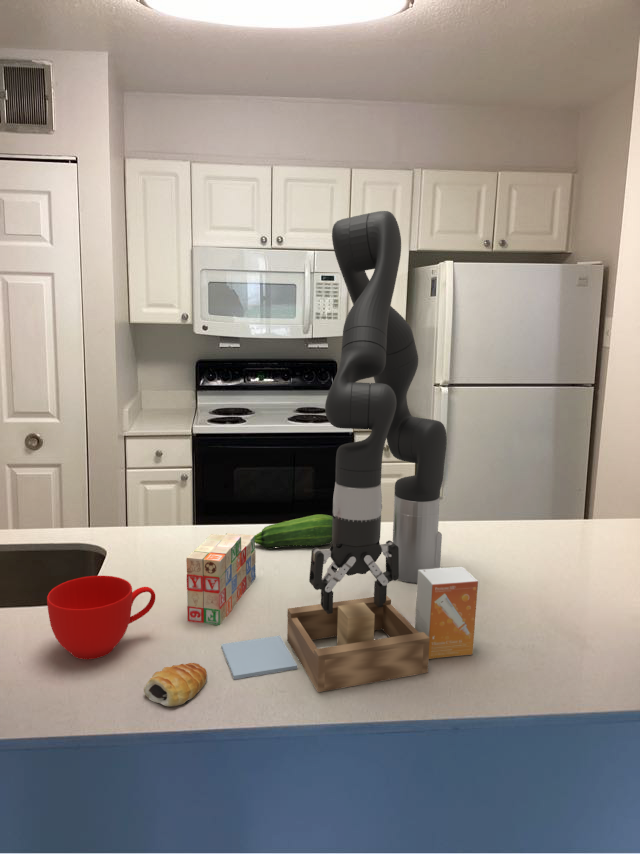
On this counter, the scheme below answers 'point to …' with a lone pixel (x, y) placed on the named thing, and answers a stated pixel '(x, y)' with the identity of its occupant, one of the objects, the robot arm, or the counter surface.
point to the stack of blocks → (219, 576)
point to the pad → (258, 657)
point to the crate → (356, 647)
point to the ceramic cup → (93, 613)
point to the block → (354, 624)
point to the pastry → (176, 684)
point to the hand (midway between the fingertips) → (353, 608)
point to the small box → (447, 610)
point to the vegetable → (297, 532)
